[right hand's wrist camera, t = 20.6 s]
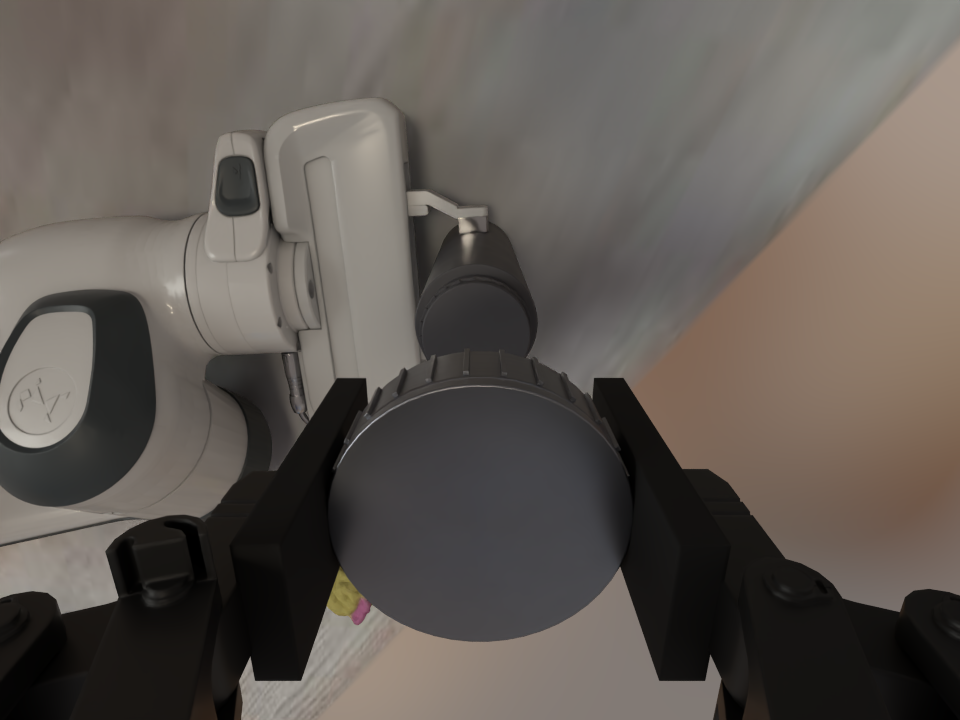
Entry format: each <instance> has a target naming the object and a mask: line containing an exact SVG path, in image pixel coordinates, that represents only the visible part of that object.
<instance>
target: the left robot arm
mask: <svg viewBox="0 0 960 720" xmlns="http://www.w3.org/2000/svg"><path fill="white" fill-rule="evenodd" d="M431 207H433V208H435V209H437V210H439V211H441V212H443V213H445V214H447V215H449V216H451V217H453V218H455V219H457V220H458V224H459V234H466V233H471V232H473V231H475V232H477V233H485V232H488V206H487V205H475V206H458V204H457V203H455V202H453V201H451V200H449V199H447V198H446V197H444V196H442V195H440V194H438V193H436V192H434V191H433V190H431V189H417V190H411V182H410V170H409V158H408V146H407V134H406V123H405V116H404V114H403V113H402V112H401V111H400V110H399V109H398V108H397V107H396V106H395V105H394V104H393V103H392V102H390V101H389V100H387V99H384V98H360V99H352V100H344V101H337V102H331V103H326V104H321V105H316V106H312V107H307V108H304V109H300V110H296V111H293V112H290V113H288V114H286V115H284V116H282V117H280V118H279V119H278V120H276V121H275V122H274V123H273V124H272V125H271V127H270V128H269V130H268V132H267V131H262V130H239V131H233V132H229V133H226V134H223V135H222V136H220V138H219V139H218V141H217V144H216V149H215V158H214V169H213V179H212V189H211V197H210V205H209V212H206V213H199V214H196V215H193V216H190V217H188V218H185V219H182V220H176V221H167V220H160V219H156V218H152V217H147V216H119V217H103V218H90V219H80V220H72V221H64V222H58V223H52V224H48V225H43V226H39V227H36V228H32V229H29V230H26V231H23V232H21V233H18V234H15V235H13V236H11V237H9V238H7V239H4V240H2V241H1V242H0V547H2V546H7V545H11V544H16V543H20V542H25V541H30V540H34V539H39V538H43V537H48V536H52V535H57V534H61V533H66V532H71V531H75V530H80V529H84V528H89V527H93V526H98V525H103V524H107V523H112V522H117V521H123V520H135V519H144V520H152V519H156V518H160V517H164V516H168V515H184V514H185V515H190V516H194V517H199V518H200V519H201V520H202V521H203V522H205V521H206V519H207V518H208V517H211V513H212V511H213V510H214V509H215V507H216V506H217V505H218V504H220V503H221V499H222V498H223V497H224V495H225V494H226V493H227V491H228V490H229V489H230V488H231V486H232V485H233V484H234V483H236V482H237V481H239V480H240V479H242V478H243V477H245V476H246V475H247V474H249V473H250V472H252V471H268V469H269V465H270V461H271V454H272V440H271V434H270V430H269V426H268V424H267V421H266V419H265V417H264V416H263V414H262V413H261V411H260V410H259V409H258V408H257V407H256V406H255V405H254V404H253V403H252V402H250V401H249V400H247V399H246V398H244V397H242V396H239V395H237V394H235V393H233V392H230V391H228V390H226V389H223V388H221V387H219V386H216V385H214V384H212V383H211V382H209V381H208V380H206V379H205V371H206V366H207V364H208V362H209V361H210V360H211V359H212V358H214V357H216V356H219V355H237V354H261V353H282V360H283V364H284V370H285V374H286V378H287V381H288V384H289V388H290V403H291V407H292V409H293V411H294V413H298V414H299V415H300V417H301V419H302V420H303V421H304V422H305V423H306V424H308V422H309V421H310V419H311V418H312V416H313V414H314V413H315V411H316V410H317V408H318V407H319V405H320V404H321V402H322V401H323V399H324V397H325V396H326V394H327V393H328V391H329V390H330V388H331V387H332V385H333V383H334V382H335V380H336V379H337V378H366V382H367V395H368V404H369V402H370V401H371V399H372V397H373V394H374V392H375V390H376V389H377V388H378V387H380V388H381V389H382V388H383V387H384V386H385V385H386V384H387V383H389V382H390V381H392V380H393V379H394V378H396V377H397V376H398V375H399V373H400V370H401V369H403V368H406V370H408V369H410V368H412V367H414V366H416V365H418V364H420V363H423V362H425V360H427V359H426V358H425V356H424V354H423V352H422V350H421V348H420V345H419V343H418V340H417V336H416V332H415V314H416V309H417V305H418V302H419V300H420V290H419V278H418V266H417V254H416V242H415V230H414V218H413V216H425V215H427V214H428V213H429V212H430V211H431ZM306 411H308V416H307V415H306V413H305V412H306ZM308 417H309V418H308Z"/></svg>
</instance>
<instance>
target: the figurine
mask: <svg viewBox="0 0 960 720" xmlns="http://www.w3.org/2000/svg"><path fill="white" fill-rule="evenodd" d="M371 605H372V604H371V603H370V602H369V601H368V600H367V599H366V598H365V597H364V596H363V595H361V594H360V593H359V592H358V590H357V589H356V588H355V587H354V585H353V584H352V583H351V582H350V580H349V579H348V578H347V576H346V574H345V573H344V571H343V570H342V568H341V566H340V568H339V571H338V574H337V577H336V580H335V583H334V586H333V589H332V591H331V594H330V597H329V600H328V603H327V607H328V608H329V609H330V610H331V611H333V612H334V613H335V614H337V615H339V616H349V617H350V618H351V619H352V621H353V623H354V624H356V625H359V624H360V623H362V621H363V620H364V618H365V616H366V614H367V613H369V612H370V607H371Z"/></svg>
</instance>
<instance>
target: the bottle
mask: <svg viewBox="0 0 960 720" xmlns="http://www.w3.org/2000/svg"><path fill="white" fill-rule="evenodd" d="M537 324H538V322H537V312H536V308H535V305H534V302H533V299H532V297H531V294H530V291H529V289H528V286H527V284H526V281H525V279H524V276H523V274H522V271H521V268H520V266H519V263H518V261H517V258H516V256H515V253H514V251H513V248H512V245H511V243H510V241H509V239H508V237H507V236H506V234H505V233H504V232H503V231H502V230H501V229H500V228H499V227H498V226H496V225H495V224H493V223H490V222H488V232H485V233H477V232H475V231H473V232H471V233H466V234H459V225H457V226H456V227H454V228H453V229H452V230H451V231H450V232H449V233H448V234H447V236H446V237H445V239H444V241H443V244H442V246H441V249H440V251H439V253H438V256H437V258H436V261H435V263H434V266H433V268H432V270H431V273H430V275H429V278H428V280H427V283H426V285H425V288H424V290H423V292H422V295H421V297H420V300H419V302H418V305H417V309H416V314H415V332H416V336H417V340H418V343H419V345H420V348H421V350H422V352H423V354H424V356H425V358H426V359H427V361H428V360H430V358H431V356H432V355H435V354H436V356H437V357H440V356H444V355H448V354H452V353H460V352H464V350H465V349H466V348H470V351H492V352H499V349H503V350H505V353H508V354H512V355H516V356H520V357H524V358H526V356H527V355H528V353H529V352H530V350H531V348H532V346H533V344H534V341H535V338H536V333H537Z"/></svg>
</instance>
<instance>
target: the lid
mask: <svg viewBox="0 0 960 720" xmlns="http://www.w3.org/2000/svg"><path fill="white" fill-rule="evenodd" d="M620 450H621V449H620V447H619V445H618V443H617V441H616V439H615V437H614V434H613V432H612V430H611V428H610V426H609V424H608V422H607V420H606V418H605V417H603V418H601V417H600V415H599V413H598V412H597V409H596V407H595V405H594V403H593V401H592V399H591V396H590V395H589V394H588V393H585V394H583V393H582V392H581V391H580V390H579V389H578V388H577V387H576V386H575V385H574V384H573V383H571V382H570V381H569V379H568V377H567V374H565V373H564V372H562V373H561V374H559V373H557V372H556V371H554V370H552V369H550V368H549V367H547V366H545V365H543V364H540V363H539V362H538V359H537V358H534V357H533V358H532V360H530V359H528V358H524V357H520V356H516V355H512V354H508V353H505V350H503V349H499V352H492V351H470V348H466V349H465V350H464V352H460V353H452V354H448V355H444V356H440V357H437V356H436V354H435V355H432V356H431V358H430V360H428V361H425V362H423V363H420V364H418V365H416V366H414V367H412V368H410V369H408V370H406V368H403V369H401V370H400V373H399V375H398V376H397V377H396V378H394V379H393V380H392V381H390V382H389V383H387V384H386V385H385V386H384V387H383V388H382V389H381V388H380V387H378V388H377V389H376V390H375V392H374V394H373V397H372V399H371V401H370V402H369V404H368V405H367V406H366V408H365V409H364V411H363V412H362V411H360V410H359V412H358V413H357V415H356V417H355V419H354V421H353V424H352V426H351V428H350V430H349V432H348V434H347V436H346V438H345V440H344V445H343V447H342V449H341V451H340V453H339V455H338V457H337V460H336V462H335V464H334V466H333V468H332V472H333V473H334V475H333V477H332V480H331V483H330V488H329V493H328V498H327V519H328V528H329V536H330V540H331V544H332V548H333V551H334V553H335V555H336V558H337V560H338V562H339V565H340V566H341V568H342V570H343V571H344V573H345V574H346V576H347V578H348V579H349V580H350V582H351V583H352V584H353V585H354V587H355V588H356V589H357V590H358V592H359V593H360V594H361V595H363V596H364V597H365V598H366V599H367V600H368V601H369V602H370V603H371V604H372V605H373V606H375V607H376V608H378V609H379V610H380V611H382V612H383V613H384V614H386V615H387V616H389V617H391V618H393V619H394V620H396V621H398V622H399V623H401V624H404V625H406V626H408V627H410V628H413V629H415V630H417V631H421V632H424V633H427V634H430V635H433V636H437V637H442V638H447V639H451V640H461V641H471V642H489V641H500V640H508V639H514V638H519V637H524V636H527V635H530V634H534V633H537V632H540V631H543V630H545V629H548V628H550V627H552V626H555V625H557V624H559V623H561V622H563V621H564V620H566V619H568V618H570V617H571V616H573V615H575V614H576V613H577V612H579V611H580V610H581V609H583V608H584V607H586V606H587V605H588V604H589V603H590V602H591V601H593V600H594V599H595V598H596V597H597V596H598V595H599V594H600V593H601V592H602V591H603V589H604V588H605V587H606V586H607V585H608V583H609V582H610V581H611V580H612V578H613V577H614V575H615V573H616V572H617V570H618V569H619V567H620V565H621V563H622V561H623V559H624V556H625V554H626V552H627V549H628V546H629V542H630V539H631V531H632V522H633V510H634V505H633V496H632V491H631V485H630V482H629V480H630V475H629V473H628V471H627V468H626V466H625V464H624V462H623V460H622V458H621V456H620V454H619V451H620Z"/></svg>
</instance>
